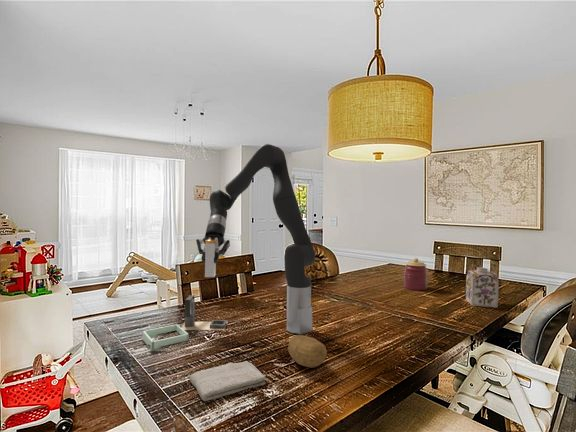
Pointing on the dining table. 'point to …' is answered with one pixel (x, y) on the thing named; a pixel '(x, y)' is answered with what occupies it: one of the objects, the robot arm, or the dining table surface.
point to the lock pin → (210, 258)
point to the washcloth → (226, 379)
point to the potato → (307, 351)
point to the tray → (156, 345)
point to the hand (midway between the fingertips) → (209, 262)
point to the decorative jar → (482, 288)
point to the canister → (415, 275)
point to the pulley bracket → (193, 325)
